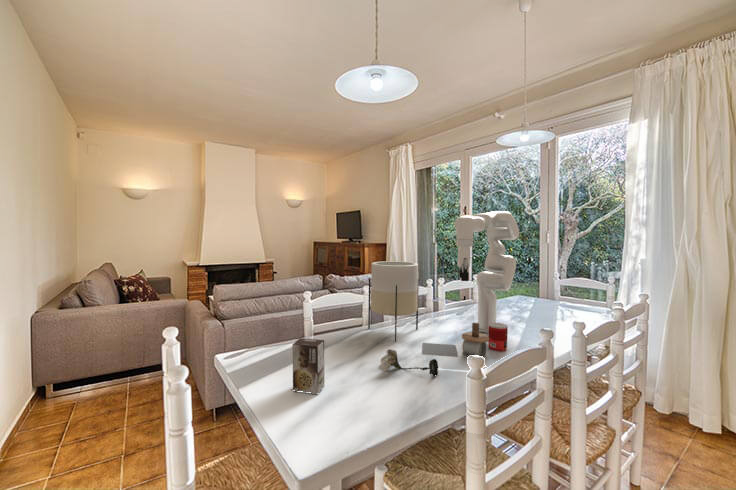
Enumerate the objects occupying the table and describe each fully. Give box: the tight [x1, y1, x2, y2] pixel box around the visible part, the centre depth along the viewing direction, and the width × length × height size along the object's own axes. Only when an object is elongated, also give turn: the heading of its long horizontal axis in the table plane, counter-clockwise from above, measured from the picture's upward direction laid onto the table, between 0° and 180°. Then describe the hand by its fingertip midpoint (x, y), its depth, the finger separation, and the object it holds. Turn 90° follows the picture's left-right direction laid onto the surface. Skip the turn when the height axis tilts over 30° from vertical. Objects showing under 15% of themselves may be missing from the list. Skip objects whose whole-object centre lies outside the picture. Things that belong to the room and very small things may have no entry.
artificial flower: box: [378, 349, 439, 379], centre depth 129 cm, size 9×22×10 cm, turn 62°
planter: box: [367, 260, 420, 343], centre depth 175 cm, size 26×27×36 cm
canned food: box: [487, 322, 509, 353], centre depth 155 cm, size 8×8×11 cm
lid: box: [461, 321, 489, 343], centre depth 146 cm, size 11×11×6 cm
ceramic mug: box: [461, 339, 488, 360], centre depth 145 cm, size 11×8×8 cm
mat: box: [421, 342, 459, 358], centre depth 152 cm, size 15×15×1 cm
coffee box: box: [291, 337, 325, 394], centre depth 114 cm, size 9×6×16 cm
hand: (463, 279), depth 161 cm, fingers open, 9 cm apart
